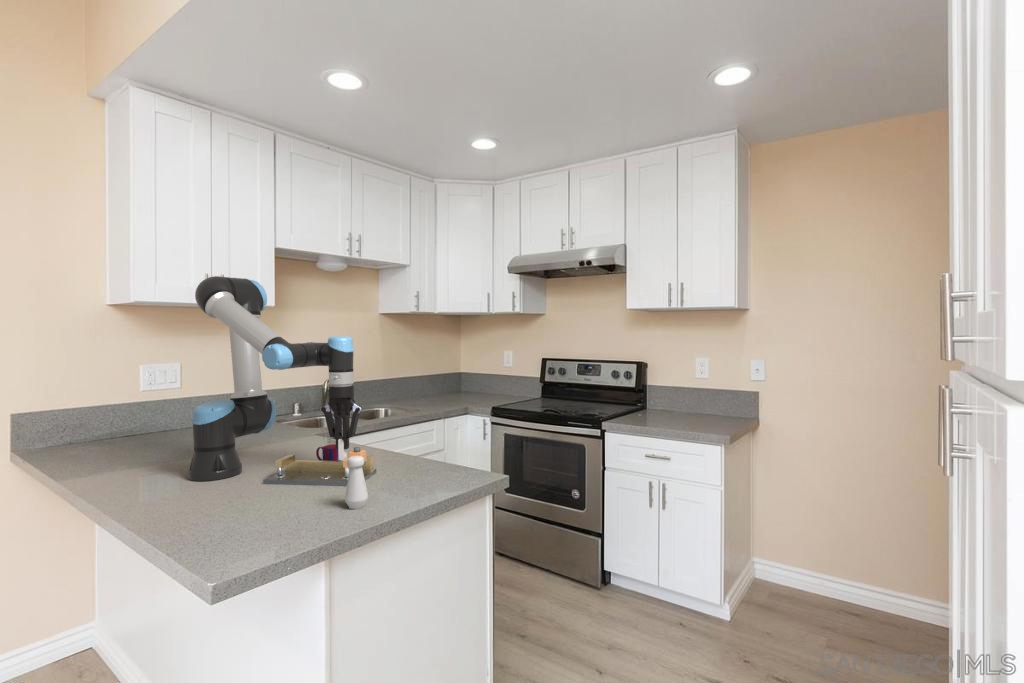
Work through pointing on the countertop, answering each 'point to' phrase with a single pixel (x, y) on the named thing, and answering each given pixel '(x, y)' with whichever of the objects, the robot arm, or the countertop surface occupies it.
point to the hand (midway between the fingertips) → (342, 459)
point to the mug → (328, 453)
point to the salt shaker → (356, 483)
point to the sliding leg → (353, 453)
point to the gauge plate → (312, 478)
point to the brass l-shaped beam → (318, 465)
